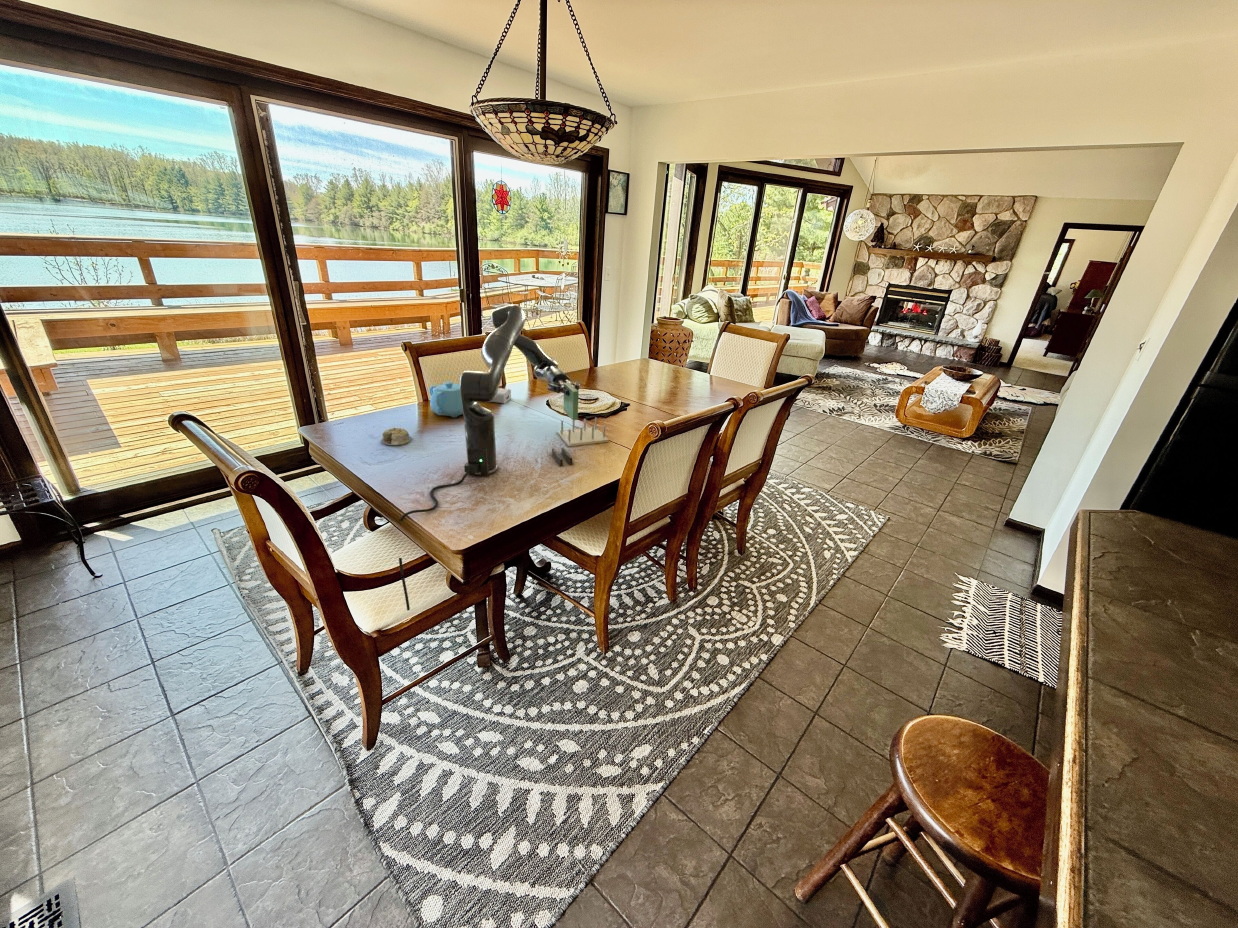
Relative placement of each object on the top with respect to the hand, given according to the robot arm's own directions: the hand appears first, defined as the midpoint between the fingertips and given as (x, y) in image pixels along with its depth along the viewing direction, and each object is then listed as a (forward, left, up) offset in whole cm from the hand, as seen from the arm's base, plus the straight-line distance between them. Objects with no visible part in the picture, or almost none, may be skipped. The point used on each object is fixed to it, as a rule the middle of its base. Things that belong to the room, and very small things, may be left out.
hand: (571, 392), depth 177 cm
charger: (+43, +44, -20) cm, 65 cm away
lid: (+1, 0, -9) cm, 9 cm away
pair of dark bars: (-16, +1, -20) cm, 26 cm away
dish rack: (+6, -4, -20) cm, 21 cm away
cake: (-12, +63, -20) cm, 67 cm away
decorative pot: (+21, +55, -20) cm, 62 cm away
